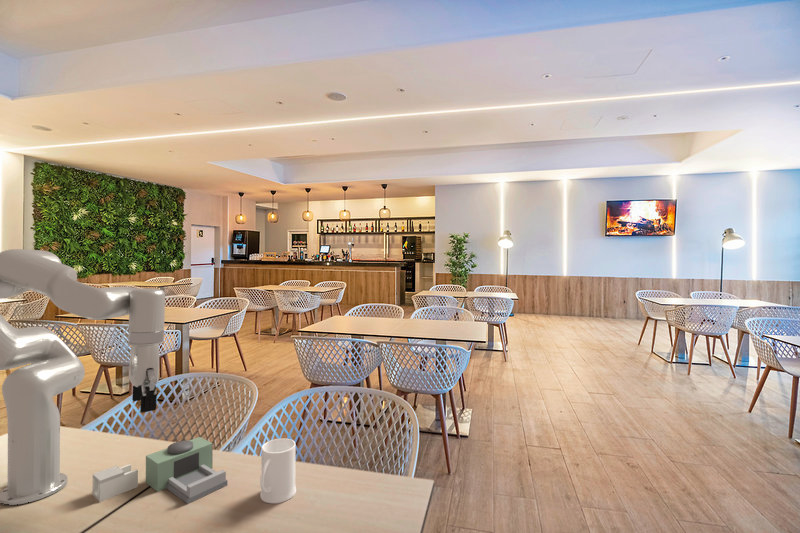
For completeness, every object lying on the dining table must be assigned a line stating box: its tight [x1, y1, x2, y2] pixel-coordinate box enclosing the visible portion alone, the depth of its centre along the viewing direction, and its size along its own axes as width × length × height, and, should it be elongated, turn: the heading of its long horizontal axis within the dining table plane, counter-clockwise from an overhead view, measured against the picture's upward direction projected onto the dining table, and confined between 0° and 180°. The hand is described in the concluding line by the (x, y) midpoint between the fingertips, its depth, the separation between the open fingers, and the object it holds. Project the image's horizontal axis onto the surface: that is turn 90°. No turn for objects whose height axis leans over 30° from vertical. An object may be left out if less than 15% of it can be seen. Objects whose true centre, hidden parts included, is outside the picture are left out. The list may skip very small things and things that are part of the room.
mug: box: [259, 438, 297, 504], centre depth 95 cm, size 12×8×12 cm
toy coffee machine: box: [145, 436, 228, 505], centre depth 102 cm, size 18×14×8 cm
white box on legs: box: [91, 463, 139, 503], centre depth 97 cm, size 8×5×5 cm, turn 144°
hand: (143, 405), depth 98 cm, fingers open, 9 cm apart
